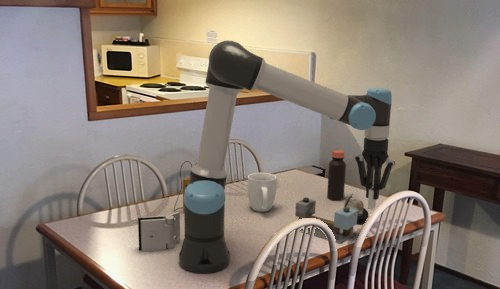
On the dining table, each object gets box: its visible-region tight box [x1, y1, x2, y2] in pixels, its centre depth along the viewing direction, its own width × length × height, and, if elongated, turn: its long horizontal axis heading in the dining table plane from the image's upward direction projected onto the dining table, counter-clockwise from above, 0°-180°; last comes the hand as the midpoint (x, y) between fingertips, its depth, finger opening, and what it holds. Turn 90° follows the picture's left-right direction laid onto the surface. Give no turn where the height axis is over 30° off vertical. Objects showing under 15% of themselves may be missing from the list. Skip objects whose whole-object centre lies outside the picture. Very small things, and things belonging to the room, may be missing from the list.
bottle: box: [326, 149, 347, 202], centre depth 204 cm, size 7×7×20 cm
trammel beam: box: [294, 196, 354, 238], centre depth 174 cm, size 7×20×9 cm, turn 52°
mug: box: [247, 172, 277, 213], centre depth 189 cm, size 15×11×13 cm
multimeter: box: [173, 160, 197, 213], centre depth 189 cm, size 15×10×20 cm
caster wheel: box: [343, 193, 369, 225], centre depth 185 cm, size 7×11×10 cm
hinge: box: [137, 211, 181, 252], centre depth 157 cm, size 14×5×10 cm, turn 116°
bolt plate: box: [299, 228, 351, 244], centre depth 172 cm, size 7×20×1 cm, turn 52°
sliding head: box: [333, 207, 358, 234], centre depth 169 cm, size 7×5×8 cm
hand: (371, 207), depth 163 cm, fingers closed
